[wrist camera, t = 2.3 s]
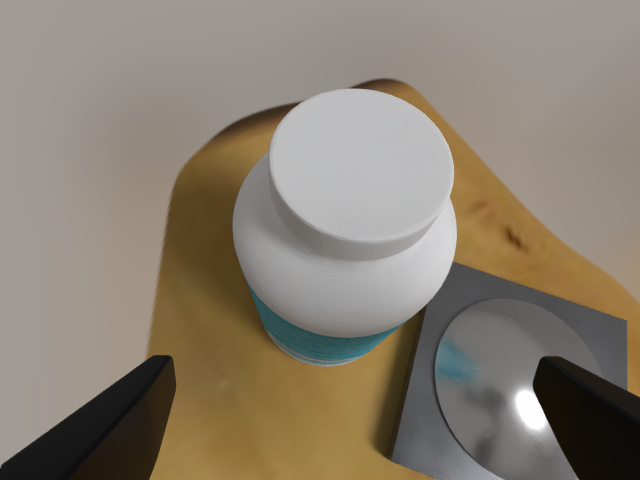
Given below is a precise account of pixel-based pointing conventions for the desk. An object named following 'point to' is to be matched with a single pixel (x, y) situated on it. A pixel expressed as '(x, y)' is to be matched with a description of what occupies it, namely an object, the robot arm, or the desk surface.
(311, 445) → the desk surface
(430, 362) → the flange plate
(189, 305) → the desk surface
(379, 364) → the desk surface
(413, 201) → the pill bottle
